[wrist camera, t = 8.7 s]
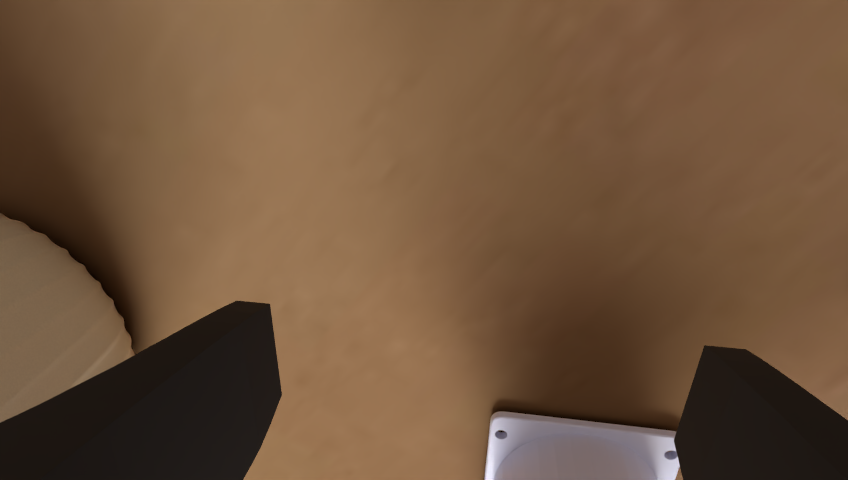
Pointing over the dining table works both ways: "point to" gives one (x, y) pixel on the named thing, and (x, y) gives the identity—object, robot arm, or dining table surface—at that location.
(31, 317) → the canister
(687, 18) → the dining table surface
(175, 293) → the dining table surface
